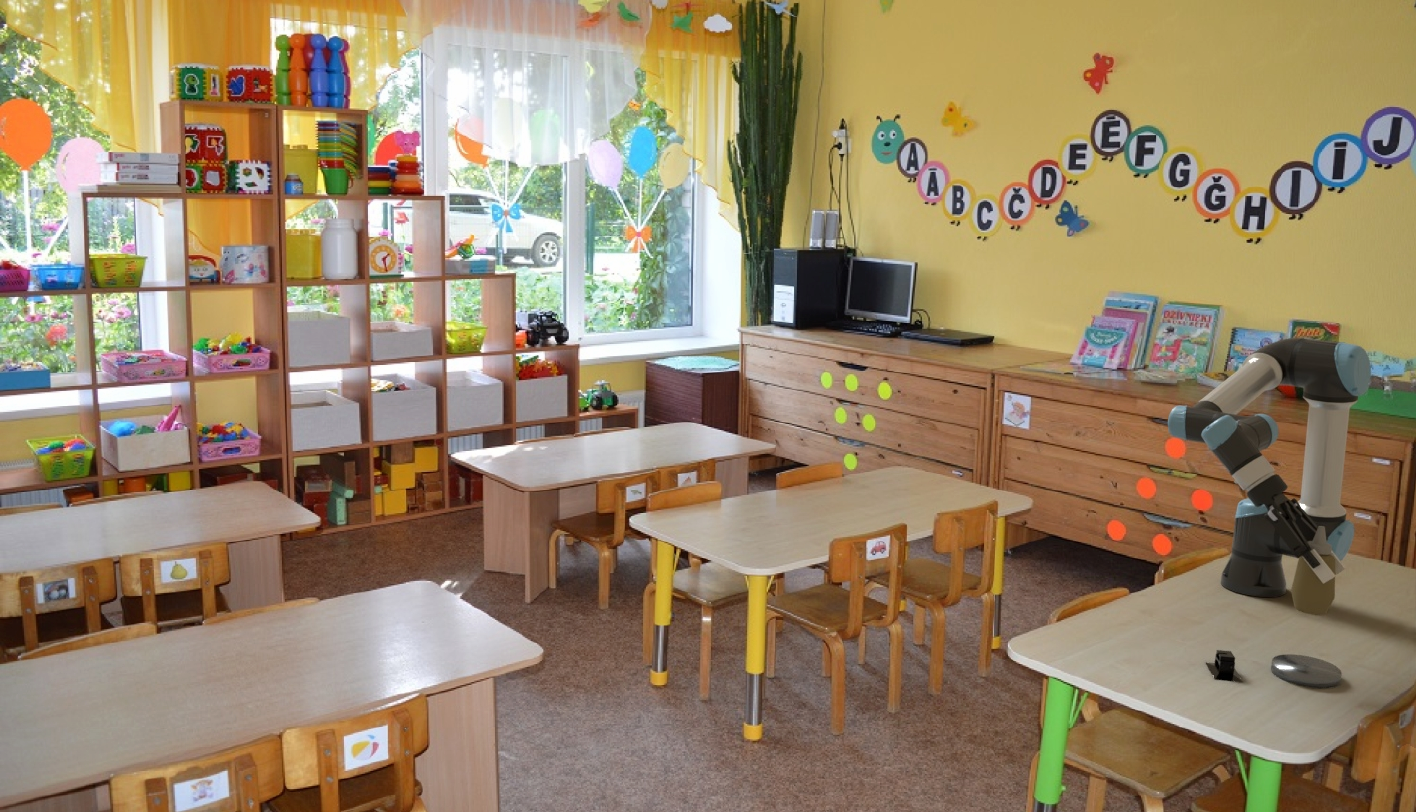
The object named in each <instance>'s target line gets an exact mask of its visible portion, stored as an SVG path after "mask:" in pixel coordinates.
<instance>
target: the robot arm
mask: <svg viewBox="0 0 1416 812" xmlns="http://www.w3.org/2000/svg"><path fill="white" fill-rule="evenodd" d="M1371 373H1372V368H1371V360H1370V358H1369V354H1368V353H1367V350H1365V349H1364V348H1363V346H1361V345H1357V344H1351V343H1347V342H1343V341H1331V340H1324V339H1322V340H1321V339H1320V340H1319V339H1310V338H1309V339H1308V338H1303V337H1289V338H1285V339H1283V338H1282V339H1281V340H1277V341H1274V342H1270V343H1269V344H1267V345H1264V346H1262V347H1260V348H1258V349H1256V350H1255V351H1254V352H1252V353H1250V354H1249V355H1248V356H1247V357H1246V358H1245V359H1244V360H1243V362H1242V367H1240V368H1239V369H1237V370H1236V371H1235V372H1234V373H1233V374H1232V375H1230V376H1229V377H1228V378H1226V379H1225V380H1223V382H1222V383H1220V384H1219V385H1218V386H1216V387H1215V388H1214V389H1213V390H1211V391H1210V392H1209V393H1207V394H1206V395H1204V397H1203V398H1201V399H1200V400H1199V401H1197V402H1196V403H1195V404H1194V405H1192V406H1188V405H1176V406H1174V407H1172V409H1171V411H1170V412H1169V415H1168V420H1167V430H1168V433H1169V435H1171V436H1172V437H1173V438H1175V439H1181V440H1184V441H1186V442H1188V441H1190V442H1195V443H1201V444H1206V446H1207V447H1208V449H1209V450H1210V451H1211V452H1212V454H1214V456H1216V458H1217V460H1218V461H1219V462H1220V463H1221V464H1222V465H1223V466H1224V468H1225V469H1226V470H1227V471H1228V473H1229V474H1230V476H1231V477H1232V478H1233V479H1234V481H1233V483H1234V484H1236V485H1238V486H1239V487H1240V488H1241V490H1242V491H1247V492H1246V496H1247V498H1244V499H1241V500H1240V501H1239V502H1238V503H1237V506H1236V507H1237V508H1236V512H1235V515H1234V527H1233V535H1232V536H1233V538H1232V545H1231V553H1230V556H1229V559H1228V560H1227V563H1226V565H1225V567H1224V569H1223V571H1222V573H1221V576H1220V584H1221V586H1222V587H1224V588H1225V589H1227V590H1230V591H1232V592H1233V593H1238V594H1242V595H1247V596H1251V597H1257V598H1258V597H1261V598H1276V597H1277V598H1278V597H1281V596H1284V595H1285V594H1286V593H1285V592H1286V591H1287V581H1286V580H1287V579H1286V576H1285V572H1284V568H1283V564H1282V562H1283V556H1287V557H1290V558H1291V557H1292V558H1295V559H1298V560H1299V557H1301V556H1302V557H1303V559H1304V560H1305V561H1306V562H1307V564H1308V565H1309V566H1310V568H1311V569H1312V570H1313V571H1314V573H1315V574H1316V575H1317V576H1318V578H1319V579H1320V580H1321V581H1322V583H1323V584H1324V583H1325V582H1327V581H1329V580H1330V579H1332V578H1334V577H1335V578H1336V576H1337V575H1338V574H1340V573H1341V572H1343V571H1345V570H1346V569H1347V567H1346V566H1345V565H1344V564H1343V562H1342V561H1343V560H1344V559H1345V557H1346V556H1347V555H1348V553H1349V550H1350V548H1351V547H1352V544H1353V540H1354V535H1355V532H1356V531H1355V524H1354V522H1353V521H1350V519H1347V509H1346V508H1345V507H1344V506H1343V505H1342V504H1341V497H1342V491H1343V490H1342V488H1343V480H1344V467H1345V460H1346V448H1347V439H1348V438H1347V437H1348V428H1349V421H1350V420H1349V419H1350V408H1351V407H1352V406H1354V405H1355V404H1357V403H1358V401H1359V397H1361V396H1363V395H1364V394H1365V393H1366V392H1367V391H1368V389H1369V384H1370V382H1371V376H1372V375H1371ZM1278 386H1291V387H1296V388H1302V389H1303V391H1302V398H1303V399H1304V400H1305V401H1306V403H1308V414H1307V425H1306V436H1305V447H1304V455H1303V456H1304V458H1303V459H1304V460H1303V468H1302V480H1301V491H1300V499H1299V500H1297V499H1296V498H1292V499H1289V497H1287V496H1286V495H1285V494H1284V492H1285V491H1286V490H1287V489H1288V485H1287V483H1286V482H1285V481H1284V479H1282V477H1281V476H1280V474H1277V473H1274V472H1275V471H1276V469H1275V468H1274V467H1273V465H1272V464H1271V463H1270V462H1269V461H1268V459H1267V458H1266V457H1265V456H1264V455H1263V454H1262V452H1261V451H1264V450H1266V449H1268V448H1269V447H1271V445H1273V444H1274V443H1276V441H1277V439H1278V438H1279V434H1280V431H1279V426H1278V423H1277V421H1275V419H1274V418H1273V417H1271V416H1270V415H1268V414H1265V413H1264V414H1263V413H1257V414H1256V413H1255V414H1252V415H1249V416H1247V415H1240V414H1239V413H1240V412H1241V411H1242V410H1244V409H1245V408H1246V407H1247V406H1248V405H1249V404H1251V403H1253V401H1255V400H1256V399H1257V398H1258V397H1259V396H1260V395H1261V394H1263V393H1264V392H1265V391H1270V390H1274V389H1275V388H1277V387H1278ZM1318 526H1324V527H1325V534H1326V543H1328V544H1330V545H1331V546H1332V550H1331V554H1330V555H1332V556H1333V557H1334V558H1335V574H1334V573H1333V572H1332V571H1331V569H1330V568H1329V567H1328V566H1327V564H1326V563H1325V562H1324V561H1323V559H1322V558H1321V557H1320V555H1319V554H1318V553H1317V552H1316V550H1315V549H1313V550H1311V547H1310V546H1309V544H1308V541H1313V539H1314V536H1315V534H1316V531H1317V529H1318Z"/></svg>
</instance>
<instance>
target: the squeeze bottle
mask: <svg viewBox="0 0 1416 812" xmlns="http://www.w3.org/2000/svg"><path fill="white" fill-rule="evenodd" d="M1308 544H1309V546H1310V547H1311V550H1313V549H1315V550H1316V552H1317V553H1318V554H1319V555H1320V557H1321V558H1322V559H1323V561H1324V562H1325V563H1326V564H1327V566H1328V567H1329V568H1330V569H1331V571H1332V572H1333V573H1334V574H1335V558H1334V557H1333V556H1332V555H1330V554H1331V550H1332V546H1331V545H1330V544H1328V543H1326V534H1325V527H1324V526H1318V529H1317V531H1316V534H1315V536H1314V539H1313V541H1308ZM1335 592H1336V576H1335V577H1334V578H1332V579H1330V580H1329V581H1327V582H1325V583H1324V584H1323V583H1322V581H1321V580H1320V579H1319V578H1318V576H1317V575H1316V574H1315V573H1314V571H1313V570H1312V569H1311V568H1310V566H1309V565H1308V564H1307V562H1306V561H1305V560H1304V559H1303V557H1302V556H1301V557H1299V559H1298V561H1297V564H1296V568H1295V573H1294V576H1293V581H1292V585H1291V589H1290V593H1291V596H1292V601H1293V605H1294V609H1295V610H1297V611H1298V612H1301V613H1303V614H1307V615H1311V616H1312V615H1314V616H1324V615H1326V614H1327V613H1328V611H1329V609H1330V607H1331V606H1332V603H1333V602H1334V600H1335V598H1336V595H1335Z"/></svg>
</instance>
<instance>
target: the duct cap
mask: <svg viewBox="0 0 1416 812" xmlns="http://www.w3.org/2000/svg"><path fill="white" fill-rule="evenodd" d="M1270 671H1271V673H1272V674H1273V675H1274V676H1275V675H1276V676H1275V677H1277V678H1278V677H1279V678H1278V679H1280V680H1282V681H1284V682H1287V683H1290V684H1293V685H1297V686H1299V687H1300V686H1301V687H1306V688H1311V689H1333V688H1336V687H1338V686H1340V684H1341V680H1342V674H1343V673H1342V670H1341V669H1340V668H1339V667H1337V665H1334V664H1333V663H1330V662H1329V661H1326V660H1324V659H1320V658H1317V657H1313V656H1309V655H1308V656H1307V655H1302V654H1289V653H1288V654H1278V655H1276V656H1274V657H1273V658H1272V659H1271V666H1270Z"/></svg>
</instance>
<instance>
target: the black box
mask: <svg viewBox="0 0 1416 812" xmlns="http://www.w3.org/2000/svg"><path fill="white" fill-rule="evenodd" d="M1205 665H1206V667H1207V669H1208V670H1209V672H1210V674H1211V676H1212V675H1214V678H1213V679H1214V681H1215V680H1216V681H1223V682H1224V681H1226V682H1234V681H1235V682H1236V683H1237V682H1238V683H1244V681H1243V679H1242V678H1241V676H1240V675H1239V673H1238V671H1237V670H1236V668H1235V666H1236V657H1235V655H1234V654H1233V652H1232V651H1231V650H1223V649H1222V650H1221V649H1220V650H1219V649H1216V653H1215V658H1214V662H1209V663H1207V661H1206V663H1205ZM1239 676H1240V677H1239ZM1240 678H1241V679H1240Z"/></svg>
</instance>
